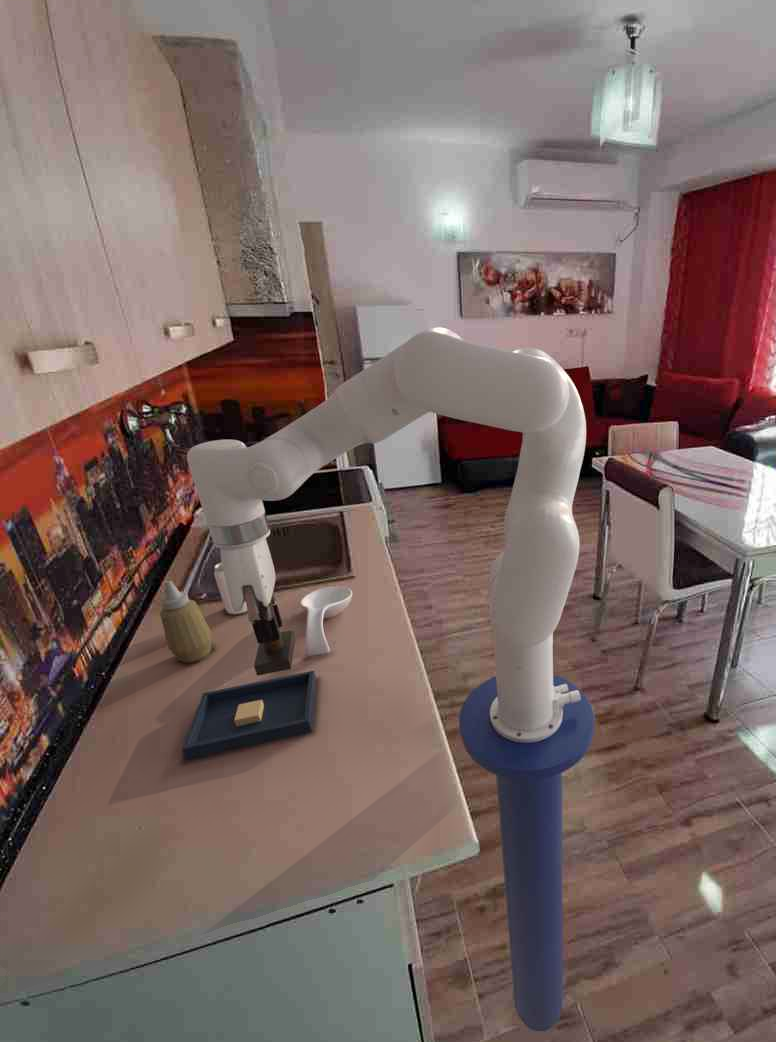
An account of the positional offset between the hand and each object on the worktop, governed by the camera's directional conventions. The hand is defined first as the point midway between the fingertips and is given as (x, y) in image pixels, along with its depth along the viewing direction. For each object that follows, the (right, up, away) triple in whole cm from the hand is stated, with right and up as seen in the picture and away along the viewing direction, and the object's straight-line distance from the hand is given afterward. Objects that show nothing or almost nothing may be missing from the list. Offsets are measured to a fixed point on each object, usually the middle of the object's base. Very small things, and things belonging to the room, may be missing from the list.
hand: (270, 633), depth 80 cm
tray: (-7, -17, +11) cm, 21 cm away
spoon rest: (-3, -5, +36) cm, 37 cm away
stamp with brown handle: (0, -4, +2) cm, 5 cm away
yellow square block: (-8, -17, +10) cm, 21 cm away
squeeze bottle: (-29, -10, +28) cm, 42 cm away
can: (-27, -2, +45) cm, 52 cm away
